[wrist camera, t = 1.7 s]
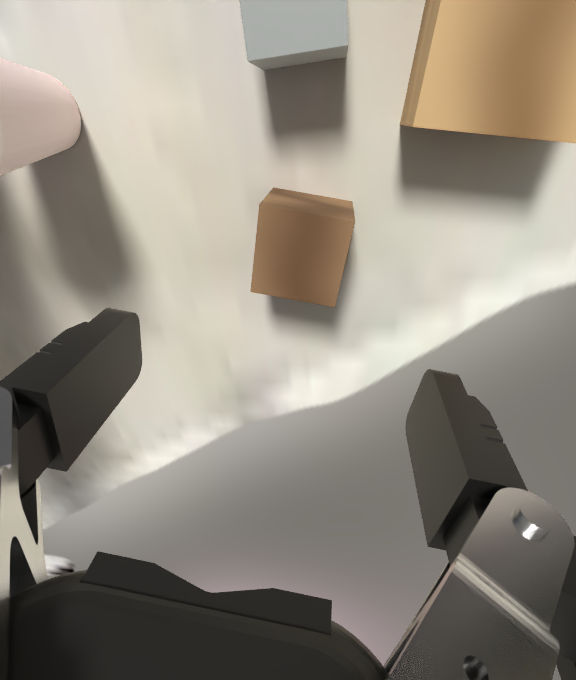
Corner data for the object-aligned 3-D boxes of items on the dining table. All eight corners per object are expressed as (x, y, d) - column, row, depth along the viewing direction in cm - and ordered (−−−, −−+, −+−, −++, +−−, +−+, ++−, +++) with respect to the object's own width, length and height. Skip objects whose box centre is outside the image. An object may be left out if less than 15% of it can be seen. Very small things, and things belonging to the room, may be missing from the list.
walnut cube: (264, 262, 24) (250, 291, 20) (273, 187, 21) (259, 204, 18) (335, 275, 24) (334, 307, 20) (352, 201, 21) (355, 221, 18)
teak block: (399, 124, 19) (412, 126, 16) (439, -70, 16) (468, -120, 12) (540, 138, 19) (584, 143, 16) (614, -57, 15) (693, -105, 12)
